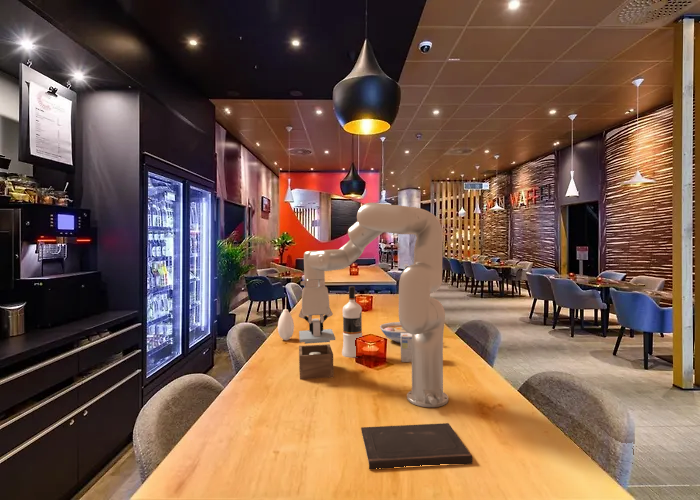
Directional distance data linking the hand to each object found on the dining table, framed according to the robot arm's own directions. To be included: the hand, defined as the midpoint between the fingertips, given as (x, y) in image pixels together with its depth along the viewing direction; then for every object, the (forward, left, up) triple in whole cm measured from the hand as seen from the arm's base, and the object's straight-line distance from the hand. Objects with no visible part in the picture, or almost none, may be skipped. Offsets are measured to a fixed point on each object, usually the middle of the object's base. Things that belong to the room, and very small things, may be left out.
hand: (316, 332), depth 147 cm
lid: (0, 0, -2) cm, 2 cm away
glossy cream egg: (+3, 0, -15) cm, 15 cm away
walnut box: (0, 0, -15) cm, 15 cm away
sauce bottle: (+54, +12, -16) cm, 58 cm away
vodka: (+20, -17, -16) cm, 31 cm away
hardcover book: (-56, -20, -16) cm, 62 cm away
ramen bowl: (+40, -45, -16) cm, 62 cm away
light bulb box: (+10, -41, -16) cm, 45 cm away
